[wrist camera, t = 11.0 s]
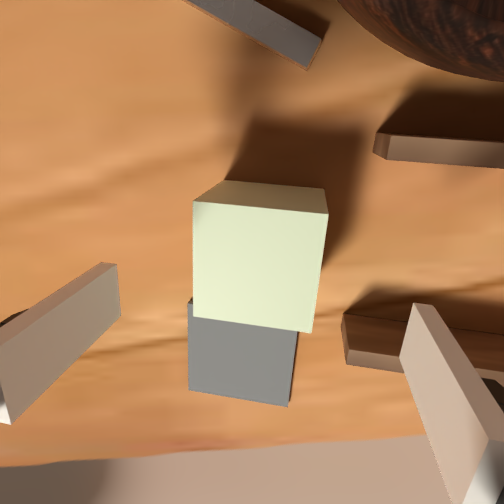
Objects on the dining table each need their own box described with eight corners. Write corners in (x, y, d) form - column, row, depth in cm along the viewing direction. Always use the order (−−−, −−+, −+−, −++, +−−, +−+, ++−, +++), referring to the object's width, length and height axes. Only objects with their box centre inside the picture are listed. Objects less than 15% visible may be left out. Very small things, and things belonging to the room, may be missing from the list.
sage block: (224, 179, 24) (192, 201, 18) (324, 188, 23) (328, 214, 17) (221, 269, 27) (193, 316, 20) (311, 280, 26) (311, 333, 20)
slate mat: (189, 300, 28) (187, 303, 28) (299, 315, 27) (299, 318, 27) (190, 386, 32) (188, 390, 31) (288, 402, 30) (287, 407, 30)
